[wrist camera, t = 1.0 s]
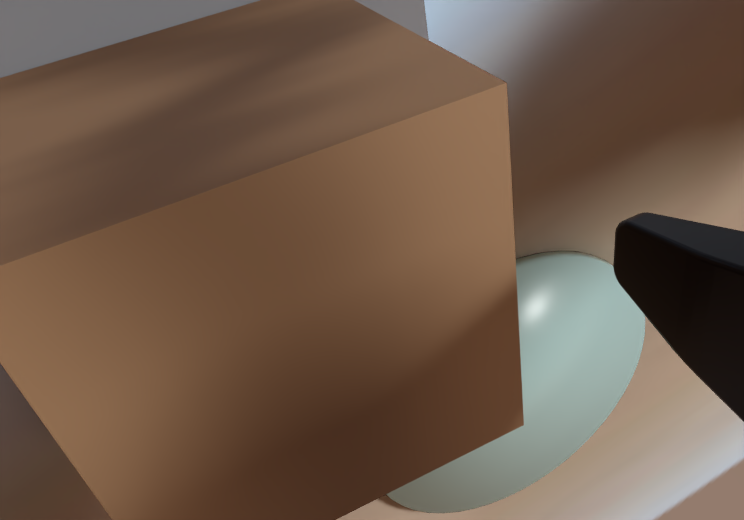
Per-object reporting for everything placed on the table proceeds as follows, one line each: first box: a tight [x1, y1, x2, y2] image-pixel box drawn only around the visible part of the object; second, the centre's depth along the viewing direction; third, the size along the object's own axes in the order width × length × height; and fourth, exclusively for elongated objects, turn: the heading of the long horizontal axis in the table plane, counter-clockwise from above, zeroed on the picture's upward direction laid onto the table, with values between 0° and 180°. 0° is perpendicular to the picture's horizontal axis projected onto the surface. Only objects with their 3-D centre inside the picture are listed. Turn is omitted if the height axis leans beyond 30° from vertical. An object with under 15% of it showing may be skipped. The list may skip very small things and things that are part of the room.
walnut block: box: [0, 0, 524, 520], centre depth 11 cm, size 6×6×6 cm
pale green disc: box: [386, 251, 645, 513], centre depth 21 cm, size 10×10×1 cm
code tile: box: [0, 0, 428, 78], centre depth 13 cm, size 10×10×1 cm
